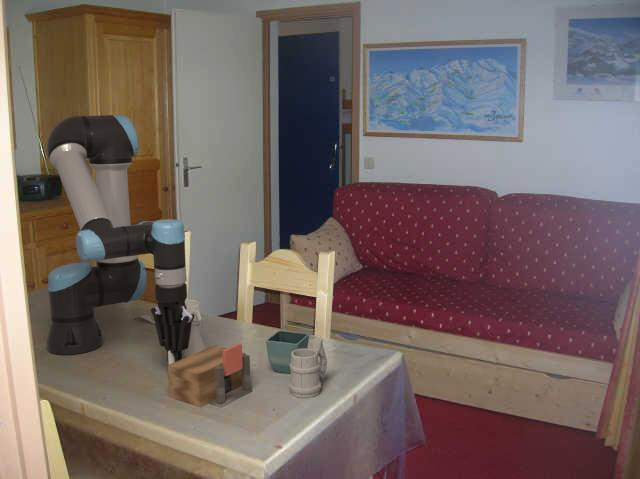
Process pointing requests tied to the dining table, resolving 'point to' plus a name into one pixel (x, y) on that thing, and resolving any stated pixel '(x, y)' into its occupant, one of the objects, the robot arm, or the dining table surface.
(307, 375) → the mug
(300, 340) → the flower pot
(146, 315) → the fork
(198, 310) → the mug
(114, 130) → the robot arm
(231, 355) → the block
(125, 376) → the dining table surface
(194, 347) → the flask
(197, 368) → the block
